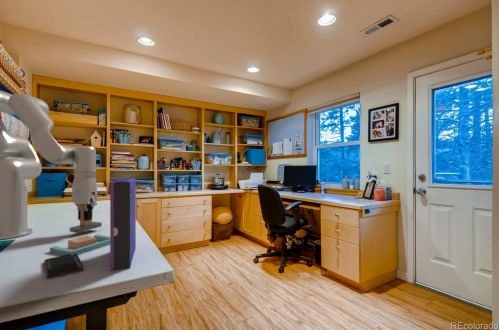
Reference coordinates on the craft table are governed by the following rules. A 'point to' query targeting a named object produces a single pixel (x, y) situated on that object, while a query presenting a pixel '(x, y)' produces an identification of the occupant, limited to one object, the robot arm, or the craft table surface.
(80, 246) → the tile
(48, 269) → the phone
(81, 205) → the pusher
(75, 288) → the craft table surface
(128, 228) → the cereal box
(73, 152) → the robot arm
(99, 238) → the frame
